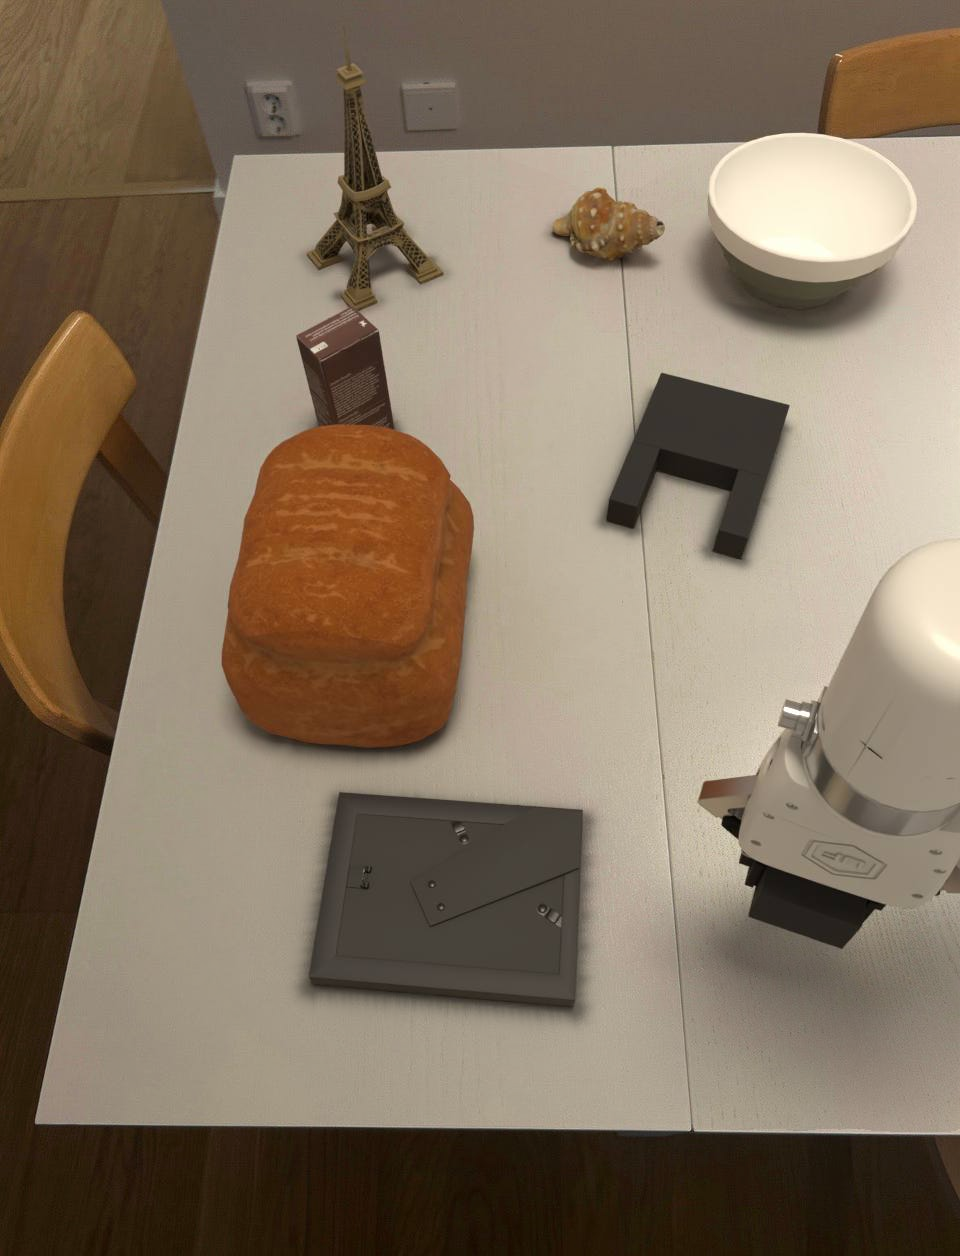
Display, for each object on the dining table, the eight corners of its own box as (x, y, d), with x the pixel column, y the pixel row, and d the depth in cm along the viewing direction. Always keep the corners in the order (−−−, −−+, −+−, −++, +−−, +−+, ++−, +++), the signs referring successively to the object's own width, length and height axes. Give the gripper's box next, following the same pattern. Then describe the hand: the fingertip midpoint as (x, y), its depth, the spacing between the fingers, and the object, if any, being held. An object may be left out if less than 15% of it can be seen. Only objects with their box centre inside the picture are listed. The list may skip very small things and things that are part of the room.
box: (369, 403, 101) (353, 302, 91) (395, 430, 99) (383, 331, 89) (315, 432, 99) (293, 333, 89) (341, 461, 97) (322, 363, 87)
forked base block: (782, 427, 98) (790, 404, 96) (741, 559, 90) (748, 538, 88) (657, 395, 101) (661, 372, 98) (606, 520, 93) (608, 498, 90)
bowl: (828, 198, 116) (853, 115, 108) (923, 314, 106) (958, 233, 98) (663, 237, 113) (675, 156, 105) (745, 361, 103) (765, 281, 95)
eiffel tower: (393, 219, 115) (368, -22, 94) (443, 274, 110) (428, 32, 89) (307, 255, 112) (260, 14, 91) (353, 312, 108) (316, 72, 86)
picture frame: (581, 819, 78) (342, 802, 79) (583, 807, 76) (338, 790, 77) (574, 1006, 71) (312, 984, 72) (575, 999, 69) (306, 976, 70)
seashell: (634, 246, 117) (682, 194, 108) (609, 302, 114) (656, 253, 105) (563, 199, 115) (606, 141, 106) (536, 255, 112) (578, 201, 103)
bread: (232, 743, 82) (174, 627, 68) (284, 524, 93) (244, 384, 79) (457, 760, 81) (446, 645, 67) (482, 535, 92) (477, 396, 78)
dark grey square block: (862, 851, 65) (882, 823, 61) (842, 949, 62) (862, 927, 58) (771, 821, 66) (785, 793, 63) (747, 917, 63) (761, 892, 60)
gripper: (687, 763, 49) (651, 890, 64) (1084, 889, 45) (945, 992, 60) (727, 632, 52) (684, 782, 68) (1097, 738, 49) (963, 872, 64)
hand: (807, 880), depth 64 cm, fingers closed on dark grey square block, 5 cm apart
